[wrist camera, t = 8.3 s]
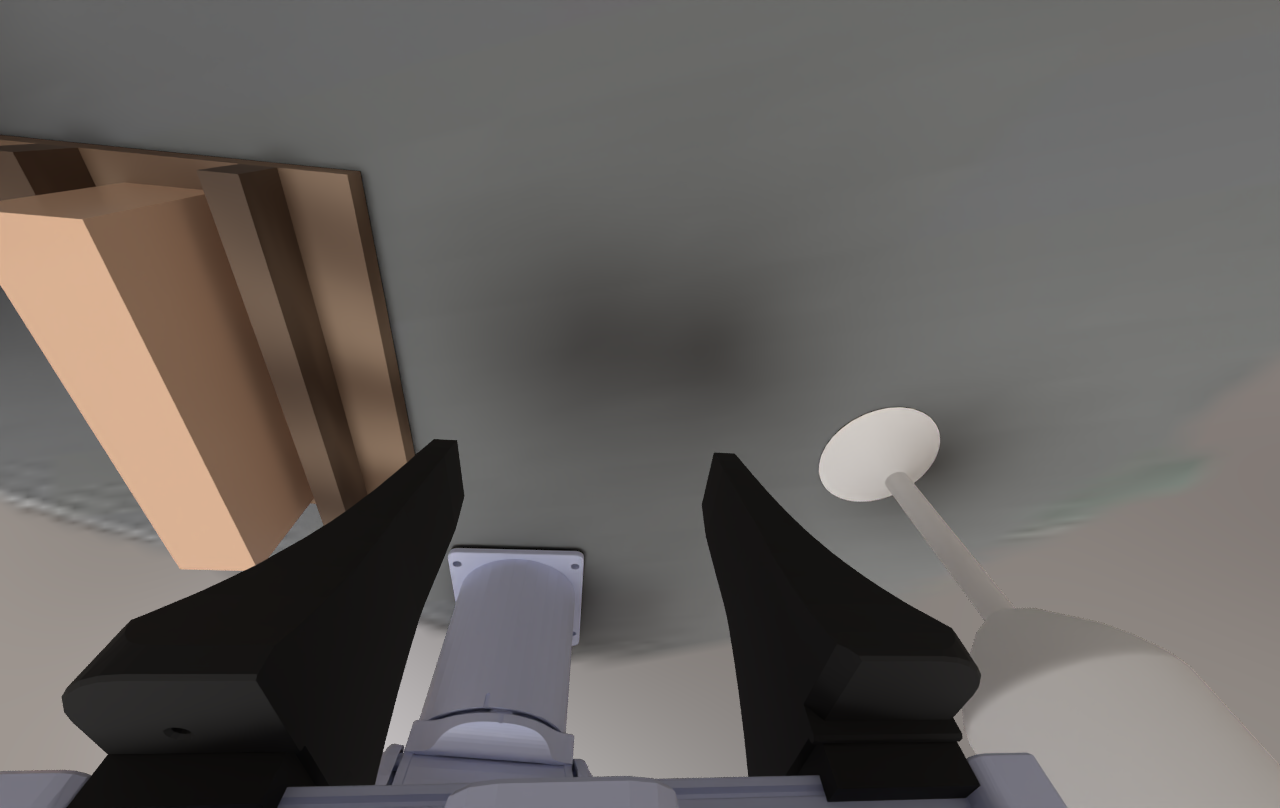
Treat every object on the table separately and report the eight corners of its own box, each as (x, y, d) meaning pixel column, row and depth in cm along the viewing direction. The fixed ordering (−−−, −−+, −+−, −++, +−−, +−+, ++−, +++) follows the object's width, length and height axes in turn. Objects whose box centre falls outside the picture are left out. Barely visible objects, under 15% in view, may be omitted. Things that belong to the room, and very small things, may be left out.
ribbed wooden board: (422, 493, 26) (401, 536, 23) (184, 485, 24) (134, 528, 22) (360, 171, 17) (316, 181, 15) (-8, 134, 16) (-124, 138, 14)
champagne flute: (966, 421, 25) (2505, 1767, 5) (896, 510, 28) (1617, 1518, 8) (857, 394, 24) (2333, 2096, 3) (797, 490, 27) (1360, 1636, 7)
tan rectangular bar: (320, 489, 24) (258, 570, 20) (257, 486, 24) (180, 569, 19) (218, 191, 16) (81, 219, 12) (124, 182, 16) (-50, 207, 12)
